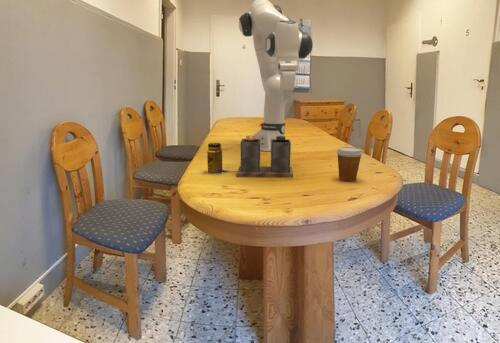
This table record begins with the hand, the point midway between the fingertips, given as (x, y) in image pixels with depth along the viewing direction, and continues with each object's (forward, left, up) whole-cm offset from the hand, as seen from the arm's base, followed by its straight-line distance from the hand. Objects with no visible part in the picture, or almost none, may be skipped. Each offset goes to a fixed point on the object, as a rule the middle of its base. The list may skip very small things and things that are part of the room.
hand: (286, 102), depth 144 cm
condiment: (-25, -13, -29) cm, 40 cm away
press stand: (-7, -4, -29) cm, 30 cm away
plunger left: (-12, -7, -26) cm, 29 cm away
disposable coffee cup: (+24, +6, -29) cm, 38 cm away
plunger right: (-1, -1, -26) cm, 26 cm away
